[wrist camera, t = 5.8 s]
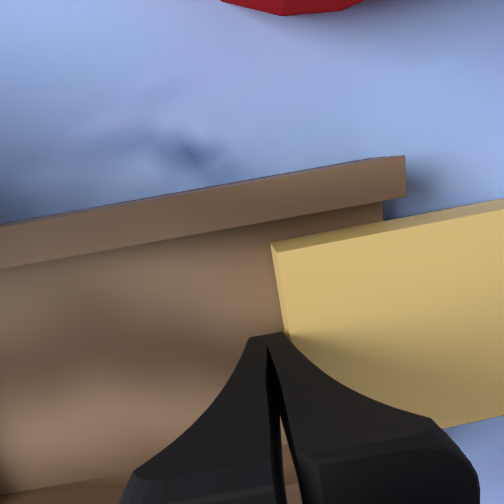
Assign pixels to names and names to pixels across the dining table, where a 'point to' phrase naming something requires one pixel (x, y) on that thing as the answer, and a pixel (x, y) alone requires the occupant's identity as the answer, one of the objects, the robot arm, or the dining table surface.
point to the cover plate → (404, 309)
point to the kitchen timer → (295, 5)
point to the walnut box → (148, 319)
